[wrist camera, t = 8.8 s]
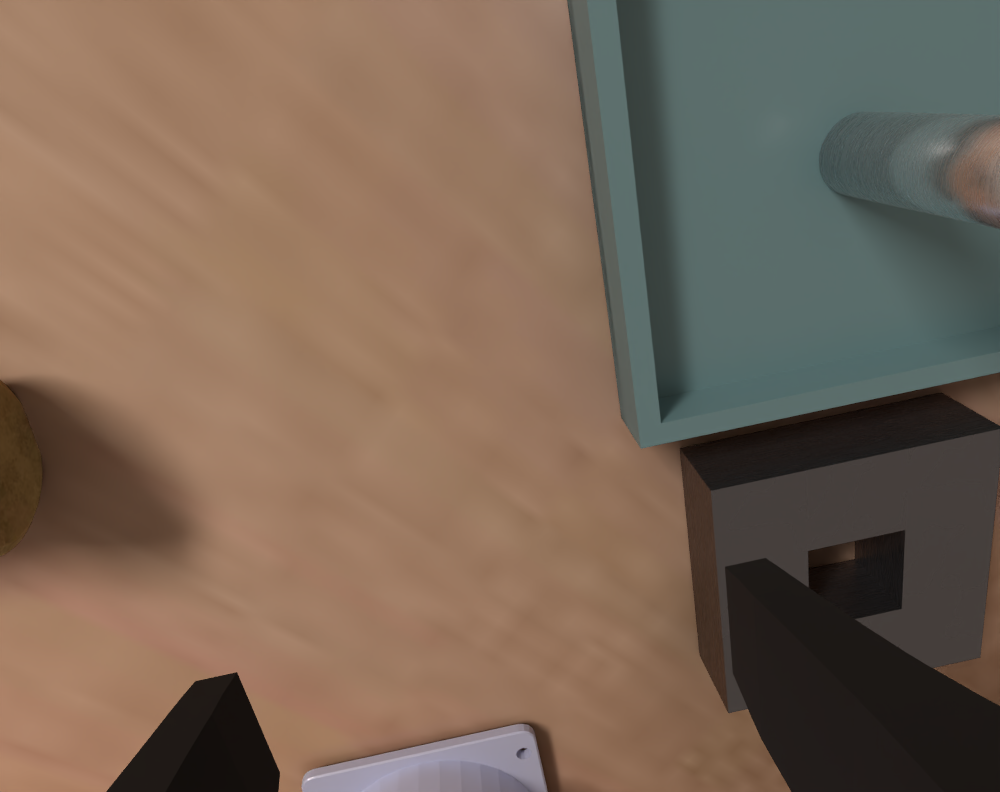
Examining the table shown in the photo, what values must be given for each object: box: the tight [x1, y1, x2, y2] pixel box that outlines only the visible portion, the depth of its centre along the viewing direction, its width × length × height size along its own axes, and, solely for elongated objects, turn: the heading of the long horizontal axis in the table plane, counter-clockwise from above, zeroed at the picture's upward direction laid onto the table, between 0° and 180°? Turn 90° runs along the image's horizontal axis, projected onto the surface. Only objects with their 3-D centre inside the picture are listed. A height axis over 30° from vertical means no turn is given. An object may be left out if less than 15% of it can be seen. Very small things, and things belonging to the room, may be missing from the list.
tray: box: [567, 0, 1000, 448], centre depth 18 cm, size 13×13×2 cm
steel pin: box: [819, 111, 1000, 229], centre depth 14 cm, size 3×3×9 cm
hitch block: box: [680, 393, 1000, 713], centre depth 22 cm, size 8×8×2 cm
